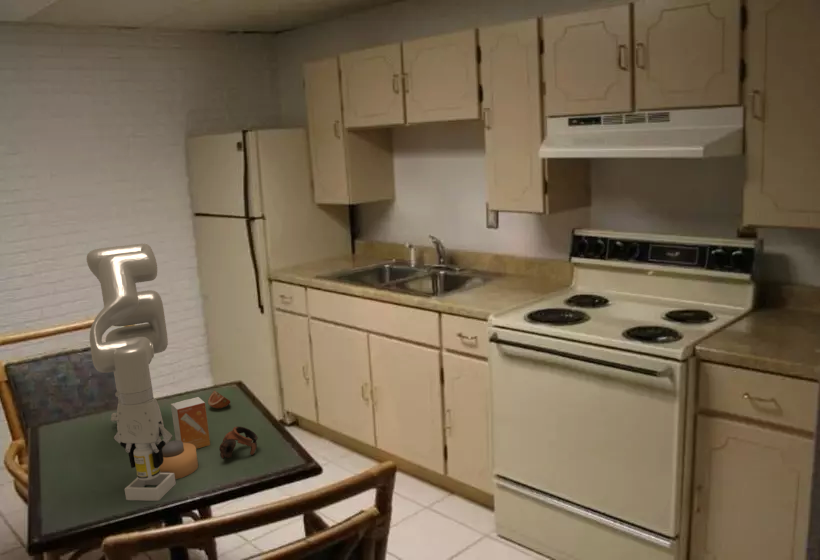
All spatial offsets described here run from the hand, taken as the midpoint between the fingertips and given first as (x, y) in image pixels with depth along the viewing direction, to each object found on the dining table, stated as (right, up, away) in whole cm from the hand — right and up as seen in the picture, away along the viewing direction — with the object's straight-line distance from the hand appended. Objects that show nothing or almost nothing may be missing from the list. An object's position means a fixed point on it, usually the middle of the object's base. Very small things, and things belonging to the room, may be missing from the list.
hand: (147, 464), depth 181 cm
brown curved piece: (+17, -2, +20) cm, 26 cm away
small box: (+3, -2, +28) cm, 28 cm away
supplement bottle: (0, -3, +1) cm, 3 cm away
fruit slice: (+3, +4, +57) cm, 57 cm away
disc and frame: (+2, -6, +7) cm, 9 cm away
